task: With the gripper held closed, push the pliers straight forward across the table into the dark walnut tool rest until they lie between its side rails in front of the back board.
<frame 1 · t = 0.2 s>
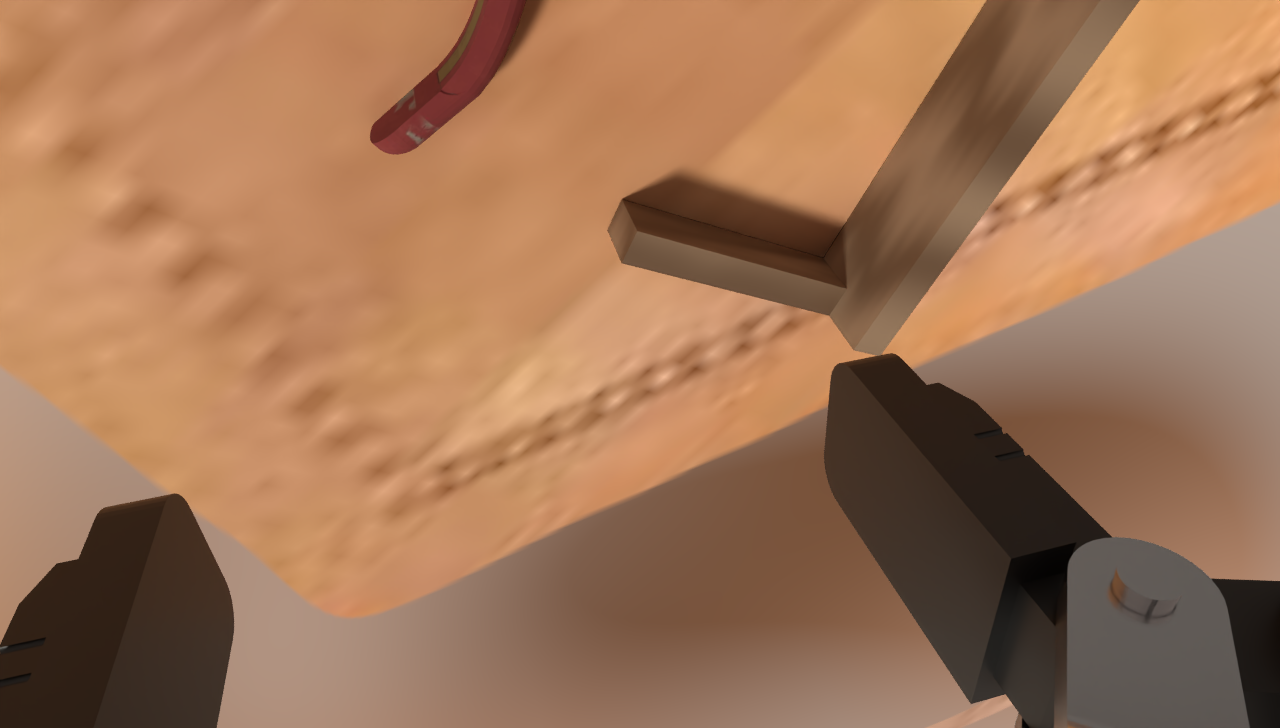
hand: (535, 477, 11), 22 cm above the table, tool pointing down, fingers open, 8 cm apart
tool rest: (844, 33, 32), on the table
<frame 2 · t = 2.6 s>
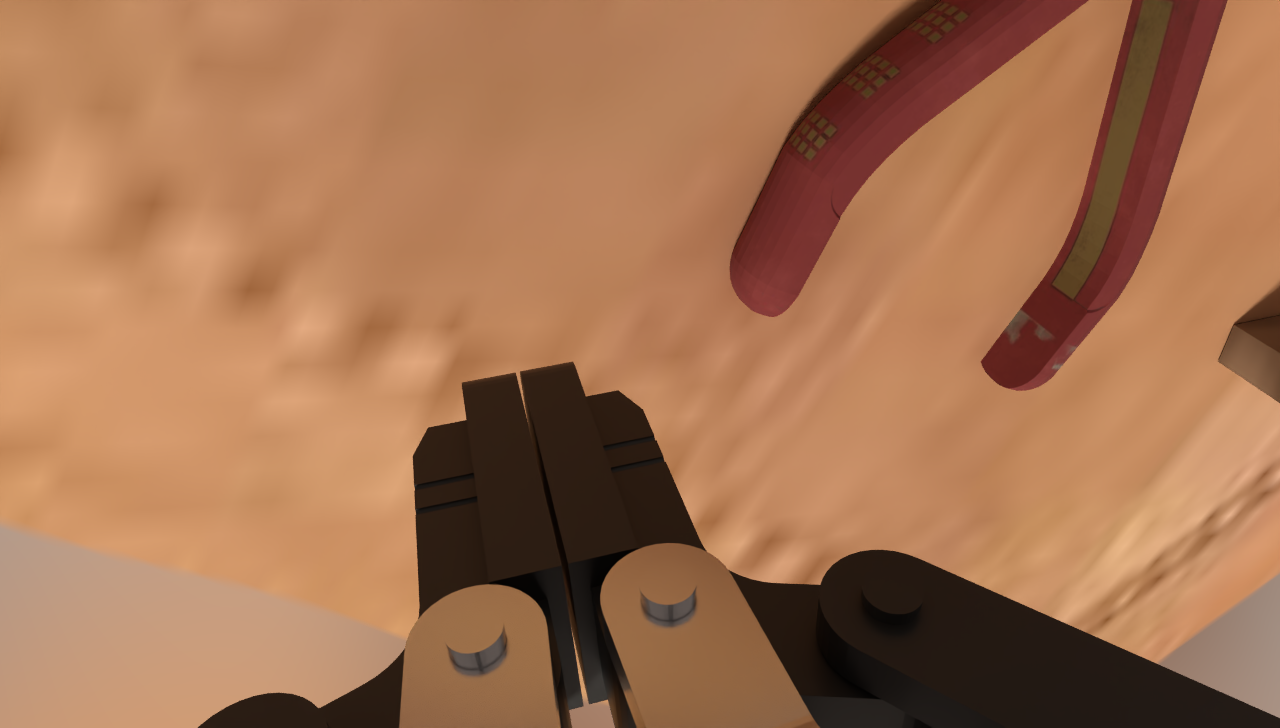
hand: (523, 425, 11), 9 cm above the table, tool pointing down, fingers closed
pliers: (1081, 50, 22), on the table
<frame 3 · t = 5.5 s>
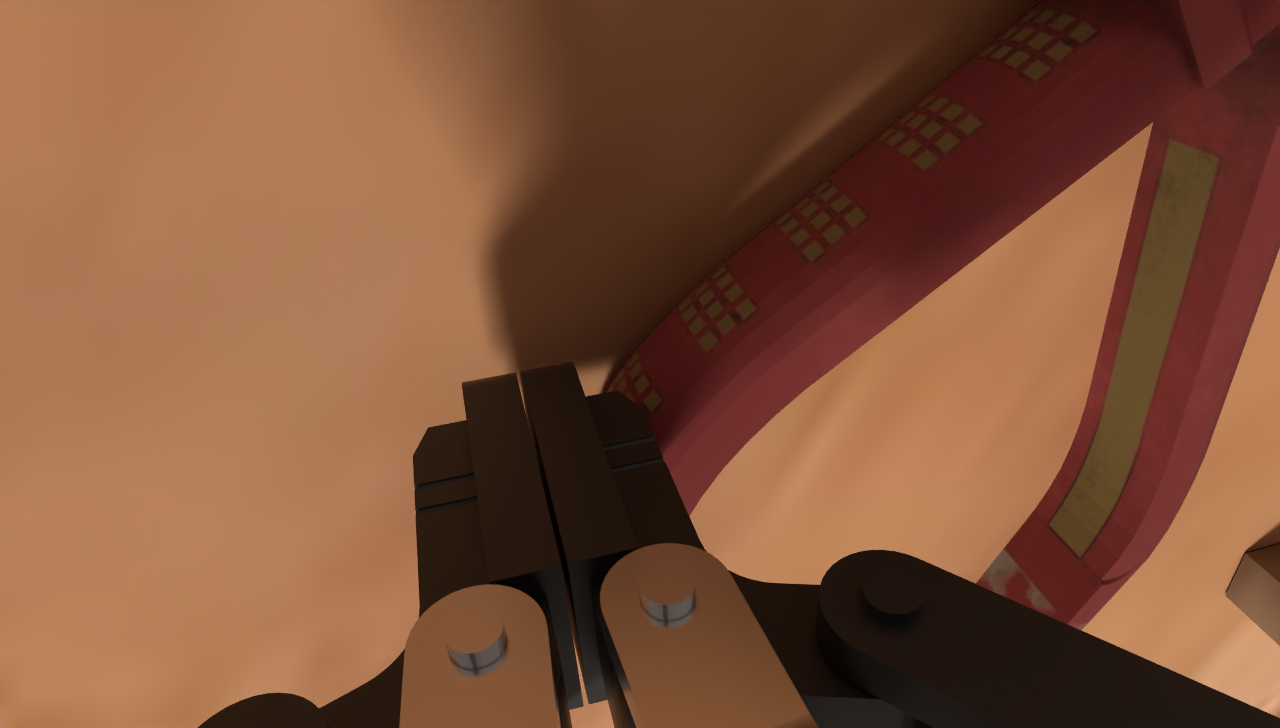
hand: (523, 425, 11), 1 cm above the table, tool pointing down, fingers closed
pliers: (1073, 210, 14), on the table
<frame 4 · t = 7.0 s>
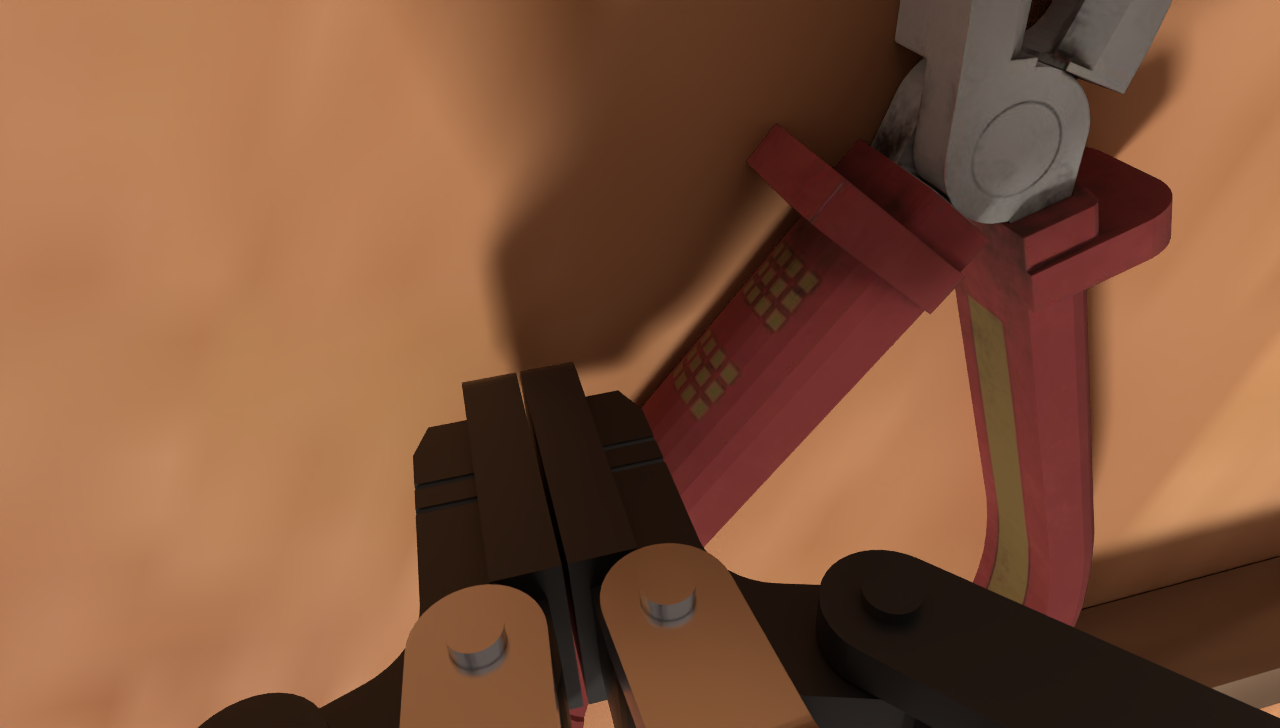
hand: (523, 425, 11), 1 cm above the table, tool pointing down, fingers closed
pliers: (916, 345, 15), on the table
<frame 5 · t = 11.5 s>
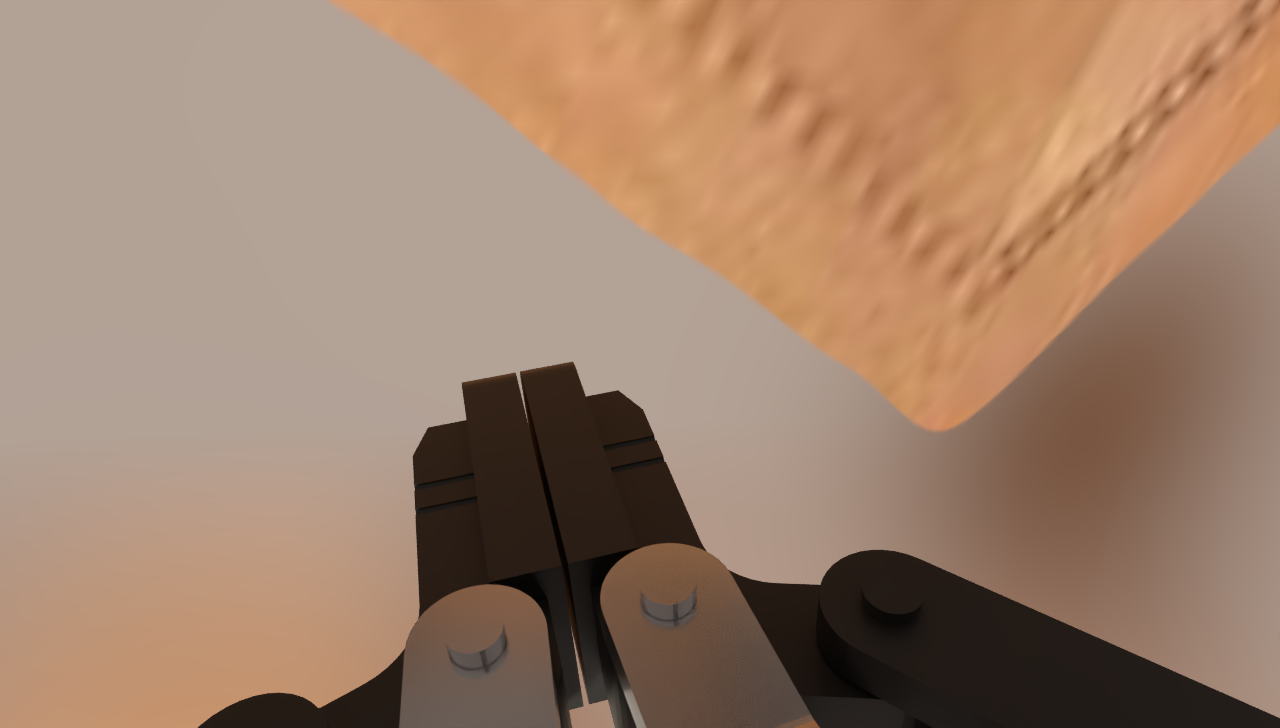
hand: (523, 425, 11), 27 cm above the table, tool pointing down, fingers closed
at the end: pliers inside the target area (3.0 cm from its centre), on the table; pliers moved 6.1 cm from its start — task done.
